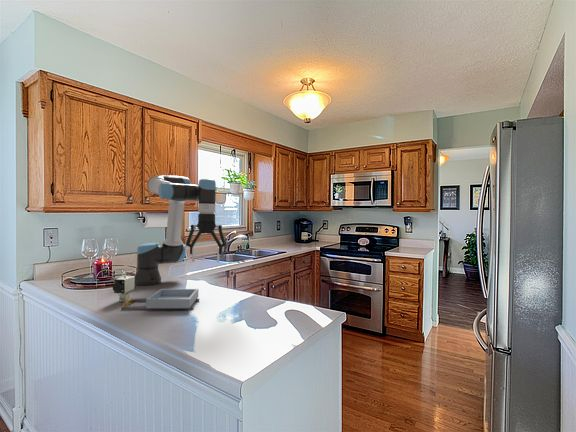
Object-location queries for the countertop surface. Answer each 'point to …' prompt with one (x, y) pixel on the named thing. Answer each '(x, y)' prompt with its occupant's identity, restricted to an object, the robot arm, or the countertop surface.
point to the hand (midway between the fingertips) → (205, 261)
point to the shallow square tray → (172, 298)
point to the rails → (132, 300)
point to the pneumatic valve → (124, 286)
